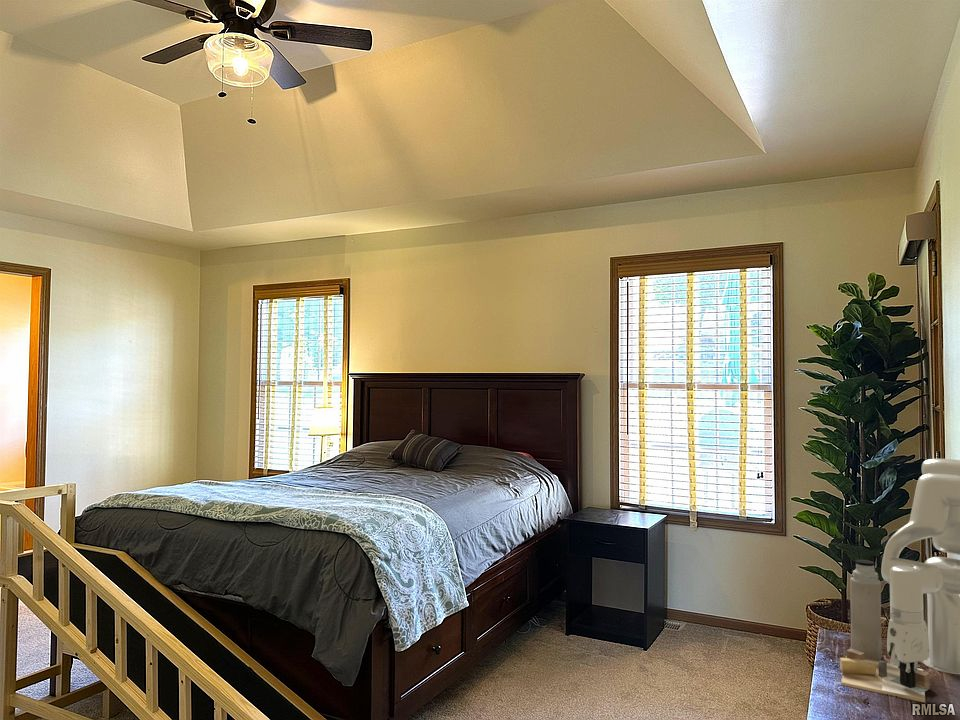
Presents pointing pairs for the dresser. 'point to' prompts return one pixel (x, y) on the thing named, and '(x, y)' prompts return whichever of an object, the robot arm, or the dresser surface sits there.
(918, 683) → the door board
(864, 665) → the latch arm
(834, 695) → the dresser surface
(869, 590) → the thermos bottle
